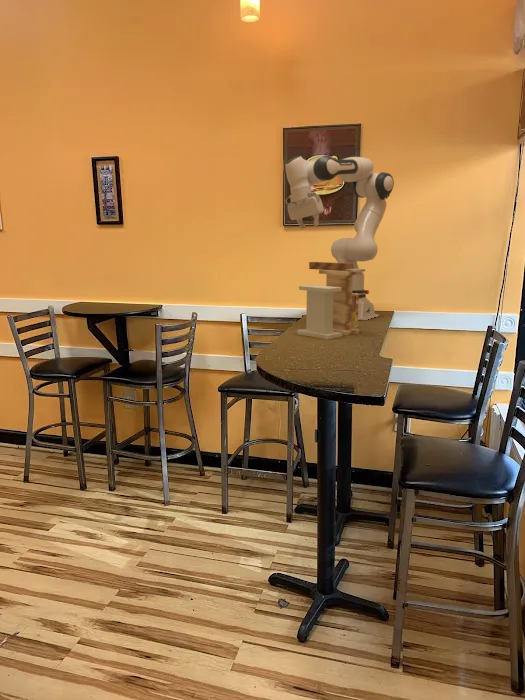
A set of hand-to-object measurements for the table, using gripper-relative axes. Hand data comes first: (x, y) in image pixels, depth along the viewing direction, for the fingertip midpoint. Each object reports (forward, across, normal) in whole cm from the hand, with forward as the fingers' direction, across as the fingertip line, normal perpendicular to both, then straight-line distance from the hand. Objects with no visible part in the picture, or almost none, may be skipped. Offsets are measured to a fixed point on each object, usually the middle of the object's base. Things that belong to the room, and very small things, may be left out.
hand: (309, 227), depth 235 cm
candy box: (+47, -10, +1) cm, 48 cm away
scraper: (+19, -16, +5) cm, 25 cm away
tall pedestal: (+45, -15, +11) cm, 49 cm away
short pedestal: (+42, -17, +23) cm, 51 cm away
